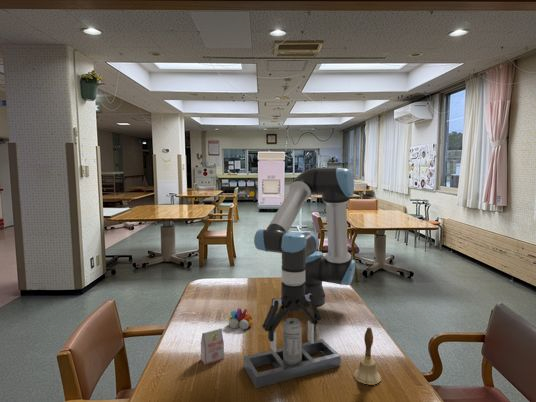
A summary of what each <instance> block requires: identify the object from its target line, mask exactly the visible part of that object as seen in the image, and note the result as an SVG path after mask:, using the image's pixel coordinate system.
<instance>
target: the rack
mask: <svg viewBox="0 0 536 402" xmlns="http://www.w3.org/2000/svg"><path fill="white" fill-rule="evenodd" d="M320 352H321V353H322V354H323V355H324V356H320V357H317V358H313V357H312V356H311V355H312V354H315V353H320ZM341 359H342V358H341V354H340V353H338V352H337V351H336V350H335V349H334V348H333V347H332V346H330V344H329V343H327V342H326V341H325V340H324V339H323V338H320V339H316V340H315V339H314V343H310V342H309V341H307V342H303V343H302V362H299V363H295V364H291V365H287V366H286V364H285V363H284V362H283V347H280V348H276V352H273V350H272V349H271V350H267V351H263V352H259V353H253V354H250V355H245V356H243V361H242V362H243V369H244V370H245V371H246V374H247V376H248V377H249V378H250V381H251V382H252V384H253V385H254V387H255V388H256V389H259V388H263V387H267V386H271V385H273V384H277V383H281V382H285V381H288V380H291V379H296V378H299V377H303V376H307V375H311V374H314V373H318V372H322V371H326V370H329V369H333V367H334V368H337V366H338V367H341ZM271 364H272V366H273V367H274V368H272V369H268V370H264V371H260V372H258V370H257V369H256V368H258V367H262V366H267V365H271ZM325 369H326V370H325Z"/></svg>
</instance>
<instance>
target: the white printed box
mask: <svg viewBox="0 0 536 402" xmlns="http://www.w3.org/2000/svg"><path fill="white" fill-rule="evenodd" d="M200 339H201V340H200V360H201V362H203V365H205V366H206V365H209V364H212V363H215V362H219V361H221V360H224V359H225V343H224V342H225V341H224V337H223V329H222V328H218V329H213V330H210V331H206V332H202V335H201V338H200Z"/></svg>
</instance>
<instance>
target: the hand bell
mask: <svg viewBox="0 0 536 402" xmlns="http://www.w3.org/2000/svg"><path fill="white" fill-rule="evenodd" d="M373 344H374V334H373V330H372V327H369V326H368V327H366V330H365V332H364V345H365V354H364V355H365V356H364V357H361V359H360V361H359V366H358V368H357V369H356V370H355V371H354V373H353V378H354V377H355V378H354V380H355V379H356V380H355V381H356V382H358V381H359V382H361V383H364V384H377V383H379V382H380V381H381V382H382V376H381V375H380V373H379V372H378V371H377V367H376V361H375V360H374V359H373V358H372V346H373ZM359 382H358V383H359ZM381 382H380V383H381ZM361 383H360V384H361ZM380 383H379V384H380ZM364 384H363V385H364ZM377 385H378V384H377Z"/></svg>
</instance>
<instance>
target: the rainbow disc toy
mask: <svg viewBox="0 0 536 402" xmlns="http://www.w3.org/2000/svg"><path fill="white" fill-rule="evenodd" d="M247 312H248V309H247V308H245V309H244V310H242V308H241V307H238V308H237V310H232V311H231V313H230V314H231V316H230V317H229V320H228V321H229V322H228V325H229V326H230V328H231V329H237V328H238V327H239V328H240V329H241V330H247V329H248V328H249V327H250V326H252V325H253V323H254V322H253V314H252V313H247Z"/></svg>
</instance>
